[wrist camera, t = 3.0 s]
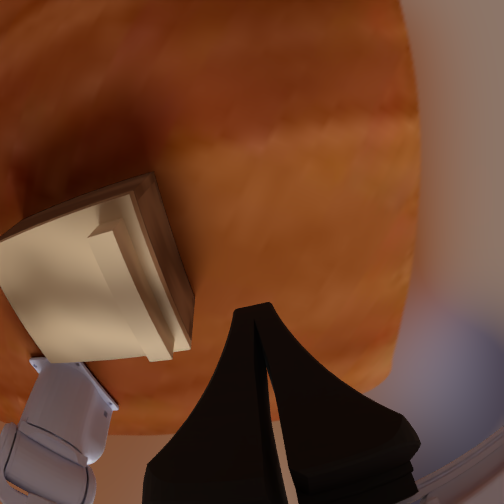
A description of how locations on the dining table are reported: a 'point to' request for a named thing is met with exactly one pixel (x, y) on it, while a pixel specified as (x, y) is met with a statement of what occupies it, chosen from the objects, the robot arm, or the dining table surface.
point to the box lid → (92, 286)
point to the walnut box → (154, 225)
